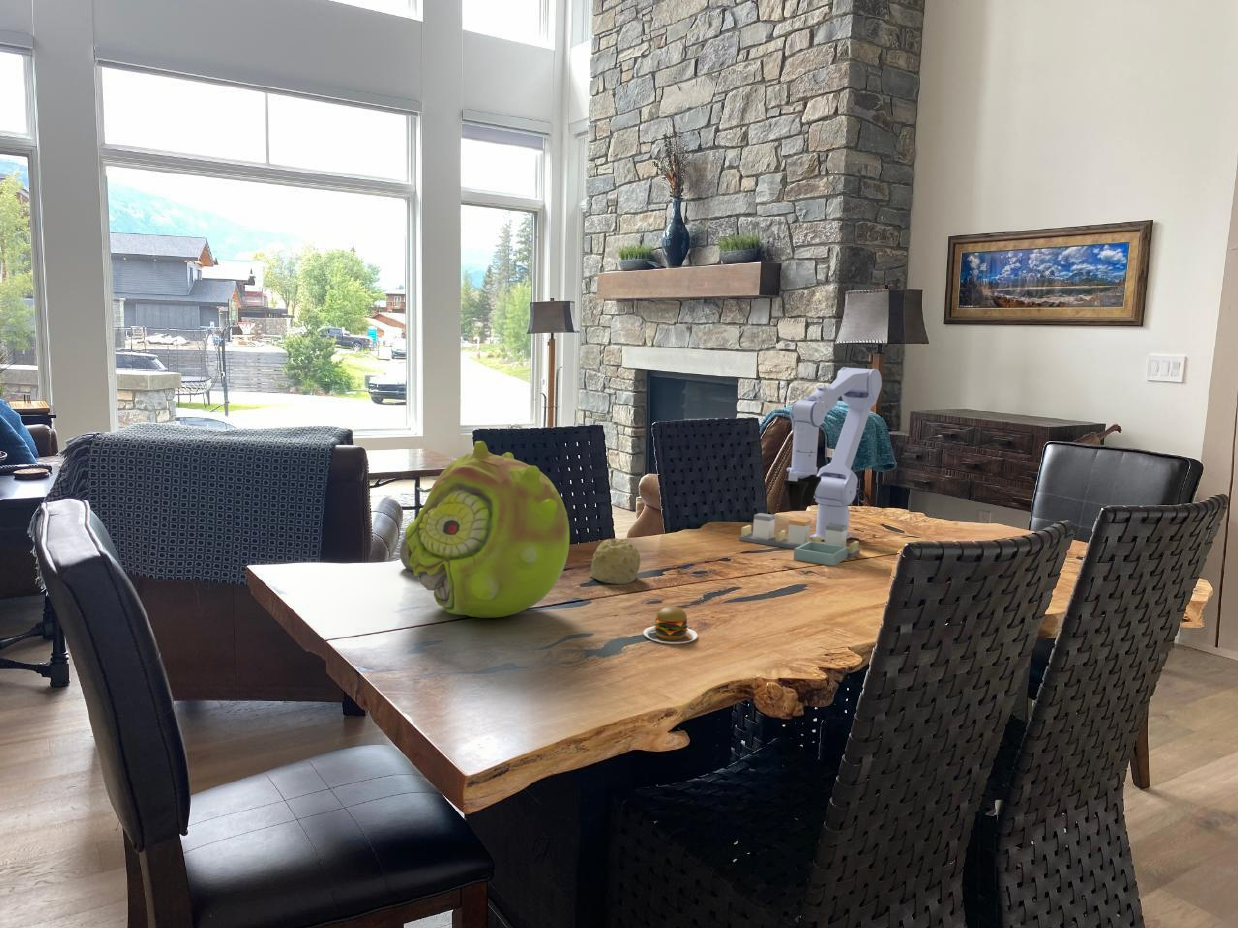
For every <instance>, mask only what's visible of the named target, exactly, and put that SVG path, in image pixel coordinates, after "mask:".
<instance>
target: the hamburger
mask: <svg viewBox="0 0 1238 928" xmlns="http://www.w3.org/2000/svg"><path fill="white" fill-rule="evenodd" d="M687 624H688V618H687V614H686V612H685V610H683V609H682V608H680V607H677V606H673V605H670V606H664V607H662V608H661V609H659V610H658V611H657V613H656V617H655V622H654V623H652V625H653V626H650V627H649V626H648V627H647V628H645V629H644V630H643V632H642V633H643V635H644V637H646V638H648V639H650V640H652V641H654V642H658V643H660V644H661V643H662V644H669V645H681V644H687V643H690V642H692V641H694V640H697V639H698V637H699V635H698V633H697V632H696V631H695V630H693V629H690V628H688V625H687ZM652 632H655V634H656V636H657V637H658V638H660V639H663V640H664V641H663V640H657V639H654V638H652V637H650V636H649V634H650V633H652ZM687 634H688V635H690V636H691V637H692V639H690V640H686V641H678V640H682V639H683V638H685V636H686V635H687ZM665 640H666V641H665ZM667 640H668V641H667ZM672 641H673V642H672Z"/></svg>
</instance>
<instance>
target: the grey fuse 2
mask: <svg viewBox="0 0 1238 928" xmlns="http://www.w3.org/2000/svg"><path fill="white" fill-rule="evenodd" d="M846 537H847V525H841V524H834V523H830V524H828V525H826V531H825V540H824V544H831V545H837V546H844V547H847V546H846V545H847V539H846Z"/></svg>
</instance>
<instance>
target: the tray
mask: <svg viewBox="0 0 1238 928" xmlns="http://www.w3.org/2000/svg"><path fill="white" fill-rule="evenodd" d="M848 547H849V546H846V547H844V546H837V545H831V544H825V542H824V543H823V542H821V543H818V542H812V541H810V540H809V542H807V543H805V544H803V545H801V546H799V547H797V548H795V549H793V560H794V561H800V562H805V563H811V564H819V565H822V566H823V565H824V566H830V567H835V566H836V565H838V564H840V563H841V562H843V561H845V560H846V559H848V558H847V556H848Z"/></svg>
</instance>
